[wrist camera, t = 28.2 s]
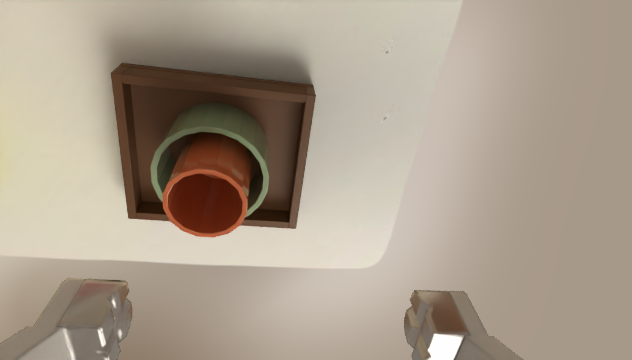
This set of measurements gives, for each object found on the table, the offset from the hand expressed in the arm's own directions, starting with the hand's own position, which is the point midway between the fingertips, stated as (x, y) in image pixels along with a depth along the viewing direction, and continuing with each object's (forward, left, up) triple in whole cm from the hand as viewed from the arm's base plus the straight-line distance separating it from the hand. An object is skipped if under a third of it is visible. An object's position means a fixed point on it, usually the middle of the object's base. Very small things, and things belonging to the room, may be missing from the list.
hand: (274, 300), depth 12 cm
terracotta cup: (+5, +10, -27) cm, 29 cm away
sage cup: (+5, +10, -28) cm, 30 cm away
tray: (+5, +10, -28) cm, 30 cm away
